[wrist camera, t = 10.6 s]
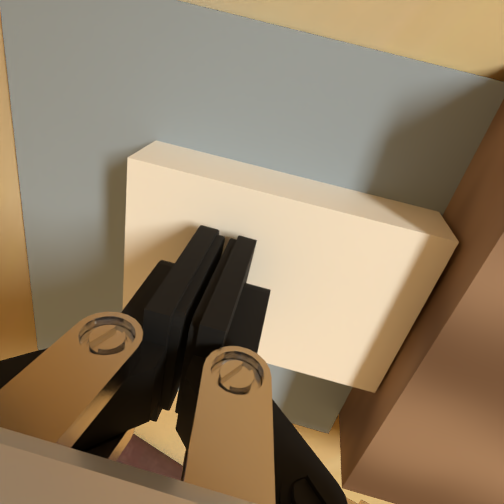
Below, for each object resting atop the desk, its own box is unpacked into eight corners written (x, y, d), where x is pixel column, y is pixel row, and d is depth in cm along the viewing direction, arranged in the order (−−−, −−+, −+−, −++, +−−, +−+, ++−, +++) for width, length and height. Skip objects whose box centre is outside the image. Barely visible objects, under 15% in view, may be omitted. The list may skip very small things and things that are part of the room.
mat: (2, -43, 10) (-6, -45, 10) (506, 82, 10) (511, 83, 10) (42, 345, 18) (38, 349, 18) (328, 427, 18) (328, 433, 17)
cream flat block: (155, 140, 12) (127, 157, 10) (439, 211, 12) (458, 242, 10) (145, 290, 15) (122, 323, 13) (369, 351, 15) (375, 392, 13)
